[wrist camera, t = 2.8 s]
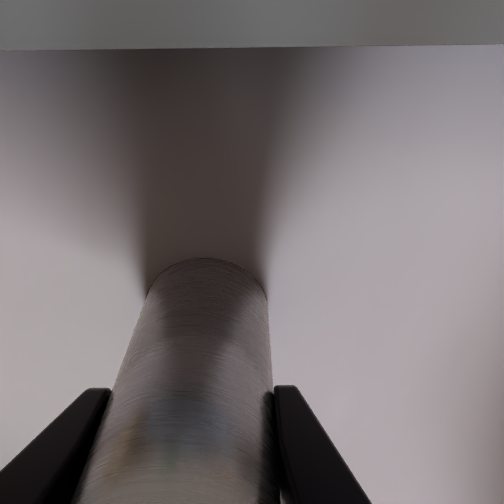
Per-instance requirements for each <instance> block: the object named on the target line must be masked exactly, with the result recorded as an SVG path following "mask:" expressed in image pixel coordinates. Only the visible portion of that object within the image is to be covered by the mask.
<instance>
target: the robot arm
mask: <svg viewBox="0 0 504 504" xmlns="http://www.w3.org/2000/svg"><path fill="white" fill-rule="evenodd" d="M111 392H112V391H111V390H110V389H109V388H89V389H87V390H85V391H84V392H83V393H82V394H81V395H80V396H79V397H78V398H77V399H76V400H75V401H74V402H73V403H71V404H70V405H69V406H68V407H67V408H66V409H65V410H64V411H63V412H62V413H61V414H60V415H59V416H58V417H57V418H56V419H55V420H54V421H53V422H52V423H50V424H49V425H48V426H47V427H46V428H45V429H44V430H43V431H42V432H41V433H40V434H39V435H38V436H37V437H36V438H35V439H34V440H33V441H32V442H31V443H29V444H28V445H27V446H26V447H25V448H24V449H23V450H22V451H21V452H20V453H19V454H18V455H17V456H16V457H15V458H14V459H13V460H12V461H11V462H10V463H8V464H7V465H6V466H5V467H4V468H3V469H2V470H1V471H0V504H70V503H71V500H72V497H73V495H74V492H75V489H76V487H77V484H78V481H79V478H80V476H81V473H82V470H83V468H84V465H85V462H86V460H87V457H88V454H89V451H90V449H91V446H92V443H93V441H94V438H95V435H96V433H97V430H98V427H99V424H100V422H101V419H102V416H103V414H104V411H105V408H106V406H107V403H108V400H109V398H110V395H111ZM273 398H274V414H275V429H276V444H277V458H278V470H279V484H280V499H281V504H372V503H371V502H370V500H369V498H368V497H367V495H366V494H365V492H364V491H363V489H362V488H361V486H360V484H359V483H358V481H357V480H356V478H355V477H354V475H353V474H352V472H351V471H350V469H349V467H348V466H347V464H346V463H345V461H344V460H343V458H342V457H341V455H340V453H339V452H338V450H337V449H336V447H335V446H334V444H333V443H332V441H331V439H330V438H329V436H328V435H327V433H326V432H325V430H324V429H323V427H322V425H321V424H320V422H319V421H318V419H317V418H316V416H315V415H314V413H313V411H312V410H311V408H310V407H309V405H308V404H307V402H306V401H305V399H304V397H303V396H302V394H301V393H300V391H299V390H298V388H297V387H296V386H294V385H277V386H275V387H274V390H273Z"/></svg>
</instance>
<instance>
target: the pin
mask: <svg viewBox="0 0 504 504" xmlns="http://www.w3.org/2000/svg"><path fill="white" fill-rule="evenodd" d="M70 504H281V499H280V484H279V470H278V458H277V444H276V429H275V414H274V398H273V379H272V364H271V349H270V334H269V319H268V305H267V300H266V296H265V294H264V291H263V289H262V288H261V286H260V284H259V283H258V282H257V281H256V279H255V278H254V277H252V276H251V275H250V274H249V273H248V272H246V271H245V270H244V269H242V268H240V267H238V266H237V265H234V264H232V263H229V262H226V261H223V260H218V259H211V258H199V259H191V260H186V261H183V262H180V263H177V264H175V265H173V266H171V267H170V268H168V269H166V270H165V271H164V272H163V273H161V274H160V275H159V276H158V277H157V278H156V280H155V281H154V282H153V284H152V286H151V288H150V290H149V292H148V295H147V298H146V300H145V303H144V306H143V308H142V311H141V314H140V317H139V319H138V322H137V325H136V327H135V330H134V333H133V335H132V338H131V341H130V344H129V346H128V349H127V352H126V354H125V357H124V360H123V362H122V365H121V368H120V371H119V373H118V376H117V379H116V381H115V384H114V387H113V389H112V392H111V395H110V398H109V400H108V403H107V406H106V408H105V411H104V414H103V416H102V419H101V422H100V424H99V427H98V430H97V433H96V435H95V438H94V441H93V443H92V446H91V449H90V451H89V454H88V457H87V460H86V462H85V465H84V468H83V470H82V473H81V476H80V478H79V481H78V484H77V487H76V489H75V492H74V495H73V497H72V500H71V503H70Z"/></svg>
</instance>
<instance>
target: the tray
mask: <svg viewBox="0 0 504 504" xmlns="http://www.w3.org/2000/svg"><path fill="white" fill-rule="evenodd" d="M479 44H504V0H0V51H21V50H98V49H174V48H250V47H327V46H403V45H479Z"/></svg>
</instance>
